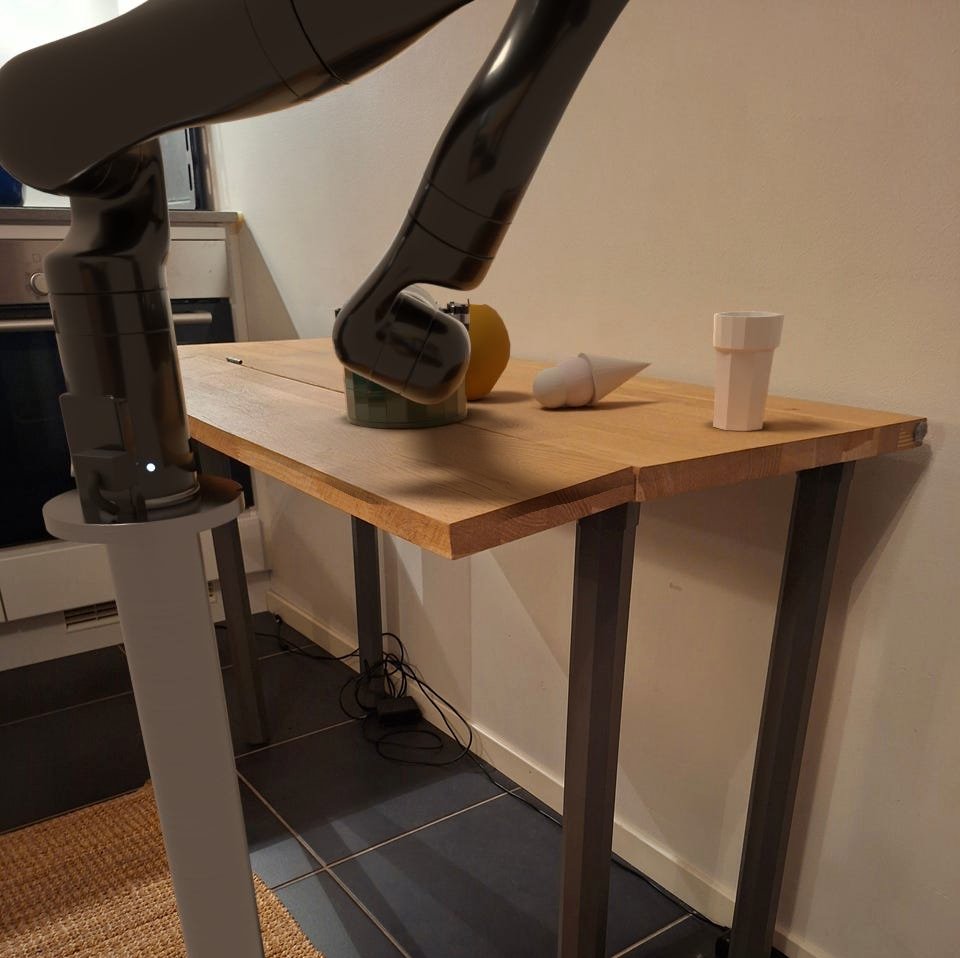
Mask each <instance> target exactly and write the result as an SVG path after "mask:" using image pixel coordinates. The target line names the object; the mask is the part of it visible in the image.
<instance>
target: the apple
mask: <svg viewBox="0 0 960 958" xmlns="http://www.w3.org/2000/svg"><path fill="white" fill-rule="evenodd" d="M464 304H465V305H468V306H469V325H470V331H467V332H468V335H469V338H470V346H471V353H470V361H469V366H468V369H467V401H477V400H480V399H482V398H484V397H486V396H487V395H488V394H490V393H491V392H492V391H493V389H494V387H495V385H496V384H497V382H498V380H499V379H500V378H501V376H502V374H503V373H504V372H505V370H506V368H507V366H508V363H509V360H510V358H511V345H512V344H511V340H510V335H509V332H508V329H507V327H506V325H505V322H504V320H503V319H502V317H501V316H500V314H499V313H498V311H497V310H496V309H495V308H493V307H492V306H491V305H489V304H484V303H483V304H475V303H474V304H473V303H470V298H467V303H464ZM445 308H447V306H445Z"/></svg>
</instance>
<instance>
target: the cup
mask: <svg viewBox="0 0 960 958" xmlns="http://www.w3.org/2000/svg"><path fill="white" fill-rule="evenodd" d="M784 319H785V314H784V313H782V312H774V311H752V310H751V311H750V310H749V311H747V310H746V311H723V312H717V313H714V314H713V336H712V337H713V339H712V346H713V348H714V350H715V369H714V370H715V371H714V395H713V396H714V402H713V423H712V424H713V425H712V427H713V428H716V429H720V430H724V431H734V432H735V431H737V432H750V431H757V430H762V429H763V427H764V419H765V412H766V408H767V407H766V406H767V399H768V393H769V388H770V381H771V376H772V375H771V374H772V369H773V363H774V357H775V351H776V349H777V348H779V347H780V344H781V338H782V332H783V325H784Z"/></svg>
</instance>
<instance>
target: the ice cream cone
mask: <svg viewBox="0 0 960 958" xmlns="http://www.w3.org/2000/svg"><path fill="white" fill-rule="evenodd" d="M652 364H653V363H652V362H647V361H641V360H634V359H633V360H632V359H626V358H621V357H613V356H605V355H601V354H593V353H586V352H580V353H579V354H578V355H577V356H576V357H574V356H573V357H569V358H565V359H563V360H562V361H560V362H559V363H558V364H557V365H556V366H551V367H546V368H544V369H542V370H541V371H539V372H538V373H537V374H536V376H535V378H534V380H533V381H532V382H533V383H532V393H533V397H534V399H535V400H536V401H537V403H538V404H539V405H541V406H542V407H545V408H547V409H555V408H556V409H557V408H559V407H562V406H565V407H569V408H578V407H582V406H585V405H588V406H590V407H591V406H594V405H595V404H596V403H598V402H599V401H601V400H602V399H605V397H607V396H608V395H610V394H611V393H613V391H615V390H617V389H618V388H620V387H621V386H622V385H623V384H625V383H626V382H628V381H629V380H631V379H632V378H634V377H635V376H636V375H638V374H639V373H641V372H642V371H644V370H645V369H647V368H648V367H649V366H651V365H652Z"/></svg>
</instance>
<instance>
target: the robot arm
mask: <svg viewBox="0 0 960 958" xmlns="http://www.w3.org/2000/svg"><path fill="white" fill-rule="evenodd" d="M476 1H477V0H145V1H144V2H141V4H138V5H137V6H135V7H134V8H132V9H130V10H128V11H127V12H125V13H123V14H120V15H118V16H116V17H114V18H112V19H110V20H107V21H105V22H102V23H100V24H98V25H96V26H93V27H89V28H86V29H83V30H82V31H79V32H76V33H73V34H70V35H68V36H64V37H62V38H59V39H56V40H52V41H50V42H47V43H44V44H41V45H38V46H36V47H33V48H30V49H27V50H24V51H22V52H20V53H18V54H16V55H14V56H13V57H11V58H10V59H9V60H8V61H6V62H5V63H4V64H3V65H2V66H1V67H0V166H1V167H2V168H3V170H5V171H6V172H7V173H8V174H9V175H10V176H11V177H12V178H14V179H15V180H17V181H18V182H20V183H21V184H23V185H25V186H27V187H29V188H31V189H33V190H35V191H39V192H40V193H44V194H48V195H52V196H57V197H62V198H63V197H65V198H66V197H67V198H69V199H68V200H69V206H70V207H69V208H70V216H71V219H70V220H71V221H70V227H69V229H68V232H67V234H66V236H65V237H64V238H63V240H61V242H60V243H59V244H58V245H56V246H55V247H53V248H52V249H50V250H49V251H48V252H47V253H45V255H44V256H43V258H42V274H43V279H44V283H45V288H46V292H47V293H48V294H47V298H48V303H49V308H50V313H51V317H52V318H51V319H52V323H53V327H54V333H55V339H56V342H57V348H58V353H59V358H60V362H61V367H62V372H63V377H64V382H65V387H66V392H64V393H61V394H60V395H59V397H58V401H59V406H60V411H61V416H62V420H63V425H64V431H65V434H66V440H67V444H68V445H67V446H68V449H69V455H70V460H71V464H72V470H73V472H74V479H75V483H76V484H75V485H76V489H78V493H79V498H80V503H81V508H88V509H97V510H103V511H105V512H107V513H109V514H110V515H112V516H115V515H117V514H118V513H119V512H123V513H132V514H137V513H141V512H143V511H147V510H152V509H159V508H165V507H169V506H174V505H177V504H181V503H184V502H187V501H189V500H191V499H193V498H195V497H197V496H198V495H199V494H200V486H199V481H198V480H197V475H198V473H197V469H196V462H195V455H194V454H195V453H196V448H195V441H194V438H193V437H192V435H191V430H190V429H191V428H190V423H189V416H188V410H187V403H186V397H185V396H186V395H185V390H184V383H183V377H182V371H181V370H182V369H181V365H180V364H181V363H180V357H179V350H178V344H177V338H176V332H175V324H174V317H173V311H172V303H171V298H170V291H169V289H168V288H169V283H168V274H167V268H168V261H169V258H170V255H171V249H172V248H171V247H172V231H171V230H172V229H171V221H170V211H169V210H170V209H169V201H168V200H169V199H168V191H167V190H168V189H167V181H166V169H165V162H164V154H163V147H162V141H161V137H163V136H165V135H168V134H171V133H175V132H179V131H183V130H186V129H192V128H199V127H204V126H210V125H211V126H212V125H219V124H224V123H232V122H237V121H242V120H248V119H252V118H258V117H263V116H268V115H272V114H276V113H282V112H284V111H288V110H291V109H295V108H298V107H300V106H303V105H307V104H309V103H311V102H313V101H316V100H319V99H320V98H323V97H325V96H327V95H329V94H332V93H334V92H336V91H338V90H341V89H343V88H345V87H347V86H350V85H352V84H354V83H357V82H359V81H361V80H363V79H365V78H366V77H369V76H370V75H372V74H374V73H376V72H378V71H380V70H381V69H383V68H384V67H386V66H387V65H389V64H390V63H392V62H393V61H395V60H396V59H398V58H399V57H401V56H402V55H403V54H404V53H406V52H407V51H409V50H410V49H411V48H413V46H415V45H416V44H417V43H419V42H420V41H422V40H423V39H424V38H425V37H426V36H427V35H428V34H430V33H431V32H432V31H433V30H435V29H436V28H437V27H438V26H440V25H441V24H442V23H444V21H446V20H447V19H449V18H450V17H452V16H453V15H454V14H456V13H458V12H459V11H460V10H462V9H463V8H465V7H467V6H469V5H470V4H472V3H474V2H476ZM630 1H631V0H515V1H514V4H513V7H512V8H511V11H510V13H509V15H508V17H507V18H506V21H505V23H504V24H503V26H502V29H501V31H500V33H499V35H498V37H497V38H496V40H495V42H494V44H493V46H492V47H491V49H490V51H489V53H488V55H487V56H486V58H485V60H484V61H483V63H482V65H481V66H480V68H479V69H478V71H477V73H476V74H475V76H474V77H473V78H472V81H471V82H470V83H469V85H468V87H467V88H466V89H465V91H464V93H463V94H462V96H461V98H460V99H459V100H458V102H457V104H456V105H455V107H454V109H453V111H452V113H451V115H450V117H449V118H448V120H447V121H446V123H445V125H444V127H443V129H442V130H441V133H440V135H439V137H438V139H437V141H436V143H435V145H434V147H433V149H432V151H431V154H430V156H429V158H428V160H427V162H426V165H425V167H424V170H423V172H422V175H421V177H420V180H419V182H418V185H417V187H416V189H415V192H414V194H413V196H412V198H411V199H412V200H411V201H410V204H409V206H408V208H407V210H406V213H405V215H404V217H403V219H402V221H401V224H400V226H399V228H398V230H397V232H396V234H395V236H394V237H393V239H392V241H391V243H390V244H389V246H388V247H387V249H386V251H385V252H384V253H383V255H382V256H381V257H380V259H379V260H378V262H377V263H376V264H375V265H374V267H372V269H371V270H370V272H369V273H368V274H367V275H366V277H365V278H364V279H363V280H362V282H361V283H360V284H359V285H358V286H357V287H356V288H355V290H354V291H353V292H352V294H351V295H350V296H349V297H348V298H347V300H346V301H345V303H344V304H343V306H342V307H338V308H336V309H334V323H333V326H332V327H333V328H332V332H331V333H332V335H331V340H332V349H333V350H334V354H335V357H336V359H337V360H338V362H339V363H340V365H341V366H342V365H343V366H344V367H346V368H347V369H349V370H350V371H352V372H354V373H356V374H358V375H360V376H362V377H365V378H367V379H369V380H371V381H373V382H375V383H377V384H379V385H381V386H384V387H386V388H388V389H390V390H392V391H394V392H396V393H400V394H401V395H402V396H404V397H406V398H408V399H410V400H413V401H415V402H418V403H421V404H427V405H431V404H437V403H440V402H442V401H444V400H446V399H447V398H448V397H450V396H451V395H452V394H453V393H454V392H455V391H456V390H457V388H458V387H459V386H460V384H461V382H462V381H463V379H464V377H465V374H466V372H467V369H468V366H469V361H470V353H471V346H470V338H469V335H468V332H467V331H470V325H469V306H468V305H465V304H466V303H459V302H455V301H449V302H446V307H447V308H446V307H442V303H441V302H438V301H435V300H434V298H433V296H432V295H431V294H430V293H429V292H428V291H427V290H425V289H424V288H423V287H421V286H419V285H418V284H421V285H422V284H425V285H431V286H435V287H441V288H444V289H448V290H453V291H459V292H460V291H461V292H470V291H473V290H476V289H477V288H479V287H480V286H481V284H482V283H483V282H484V281H485V279H486V277H487V276H488V274H489V272H490V270H491V268H492V266H493V264H494V261H496V260H495V259H496V257H497V255H498V254H499V252H500V250H501V247H502V246H503V244H504V241H505V240H506V238H507V236H508V233H509V231H510V229H511V227H512V225H513V223H514V221H515V219H516V217H517V215H518V213H519V210H520V208H521V206H522V204H523V202H524V199H525V197H526V196H527V193H528V192H529V189H530V187H531V185H532V183H533V181H534V179H535V176H536V175H537V172H538V170H539V168H540V166H541V164H542V162H543V160H544V158H545V155H546V153H547V151H548V149H549V148H550V147H549V146H550V145H551V142H552V140H553V138H554V137H555V134H556V132H557V131H558V128H559V126H560V123H561V122H562V120H563V117H564V116H565V114H566V111H567V109H568V107H569V105H570V104H571V102H572V100H573V98H574V96H575V95H576V92H577V89H578V88H579V86H580V84H581V83H582V81H583V79H584V77H585V76H586V73H587V72H588V70H589V69H590V67H591V65H592V63H593V61H594V60H595V58H596V56H597V55H598V52H599V51H600V49H601V48H602V46H603V44H604V42H605V41H606V39H607V37H608V35H610V33H611V31H612V29H613V28H614V26H615V24H616V23H617V21H618V20H619V17H620V16H621V15H622V14H623V12H624V10H625V9H626V7H627V6H628V4H630Z"/></svg>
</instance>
